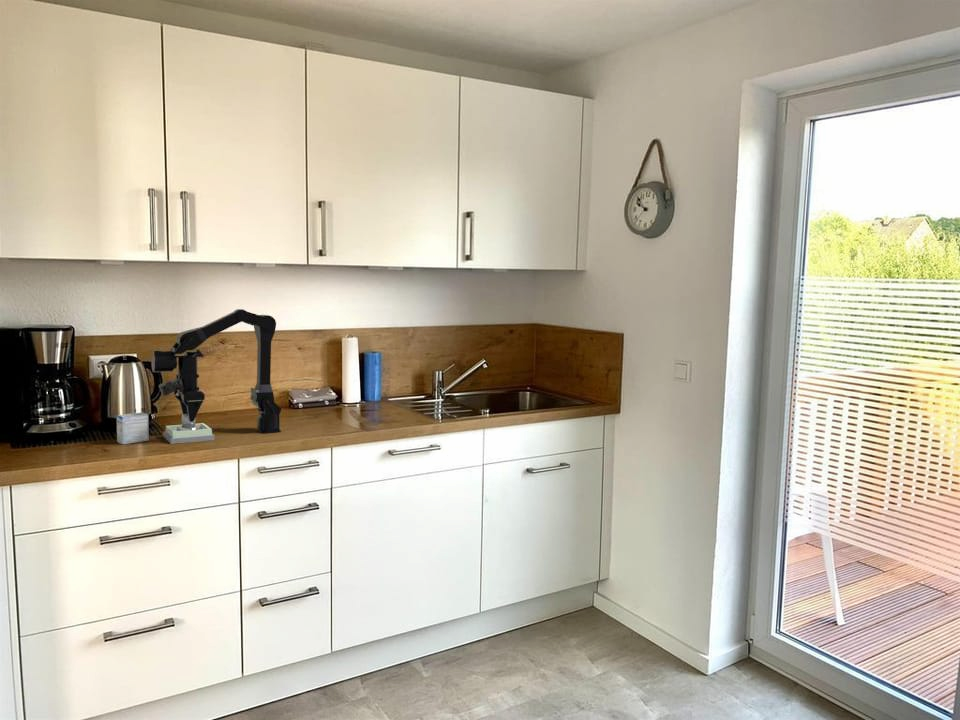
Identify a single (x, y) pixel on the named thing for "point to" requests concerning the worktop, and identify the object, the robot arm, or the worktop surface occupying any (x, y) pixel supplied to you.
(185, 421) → the gear
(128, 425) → the medicine box
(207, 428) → the square tray
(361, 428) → the worktop surface
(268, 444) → the worktop surface
